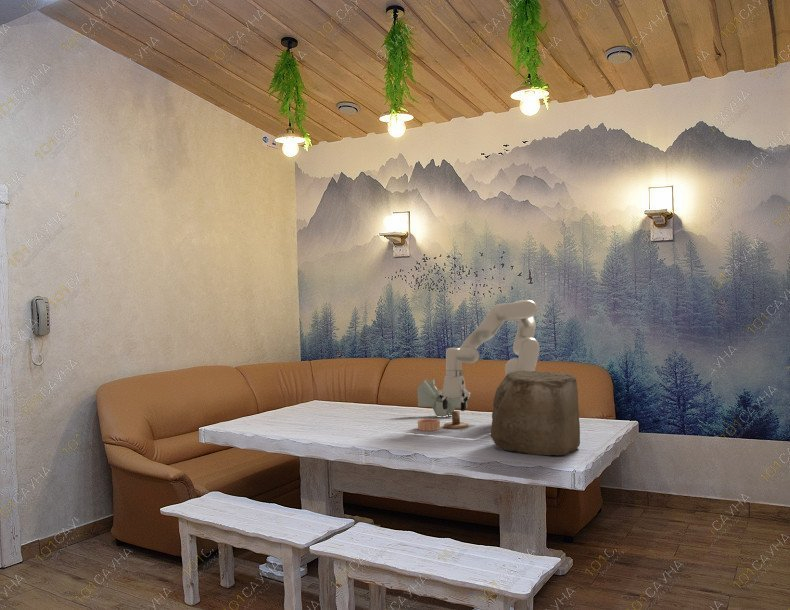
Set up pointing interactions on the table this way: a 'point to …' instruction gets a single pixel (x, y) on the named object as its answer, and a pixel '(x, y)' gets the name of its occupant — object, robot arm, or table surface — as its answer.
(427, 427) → the bowl
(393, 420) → the table surface
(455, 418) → the lid
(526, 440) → the stone block
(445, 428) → the trivet
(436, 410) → the bracket
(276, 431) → the table surface
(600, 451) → the table surface
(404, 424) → the table surface
